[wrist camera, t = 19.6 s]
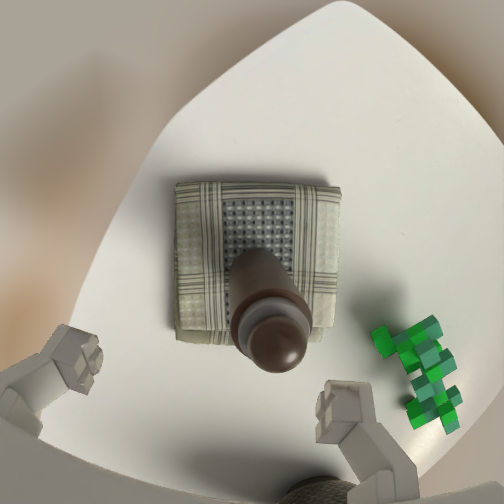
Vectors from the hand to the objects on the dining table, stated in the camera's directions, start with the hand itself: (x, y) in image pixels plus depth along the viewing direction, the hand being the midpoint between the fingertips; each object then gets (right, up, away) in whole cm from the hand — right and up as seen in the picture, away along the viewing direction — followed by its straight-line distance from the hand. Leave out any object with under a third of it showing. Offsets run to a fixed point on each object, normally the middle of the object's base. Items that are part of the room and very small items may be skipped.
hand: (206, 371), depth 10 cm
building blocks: (+24, -11, +30) cm, 40 cm away
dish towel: (+2, +2, +25) cm, 25 cm away
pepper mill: (+2, +2, +22) cm, 23 cm away
